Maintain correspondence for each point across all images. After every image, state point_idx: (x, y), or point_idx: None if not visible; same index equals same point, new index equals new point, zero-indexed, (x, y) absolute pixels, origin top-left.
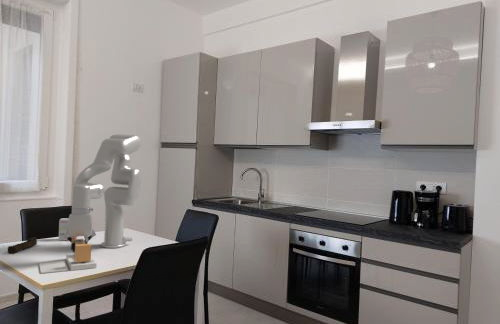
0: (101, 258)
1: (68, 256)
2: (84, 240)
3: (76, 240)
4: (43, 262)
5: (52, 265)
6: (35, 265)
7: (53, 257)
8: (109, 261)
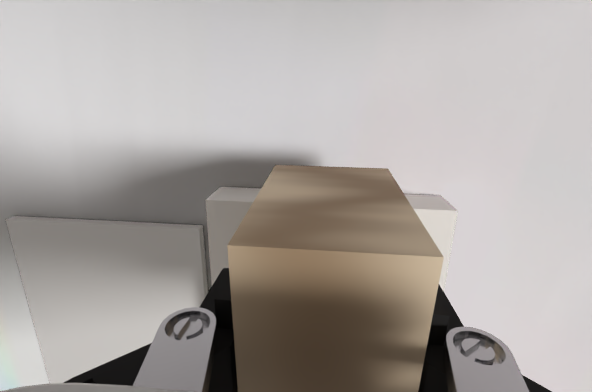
0: (534, 270)
1: (223, 253)
2: (427, 378)
3: (273, 340)
4: (41, 241)
5: (117, 344)
6: (3, 260)
7: (104, 45)
8: (553, 382)
